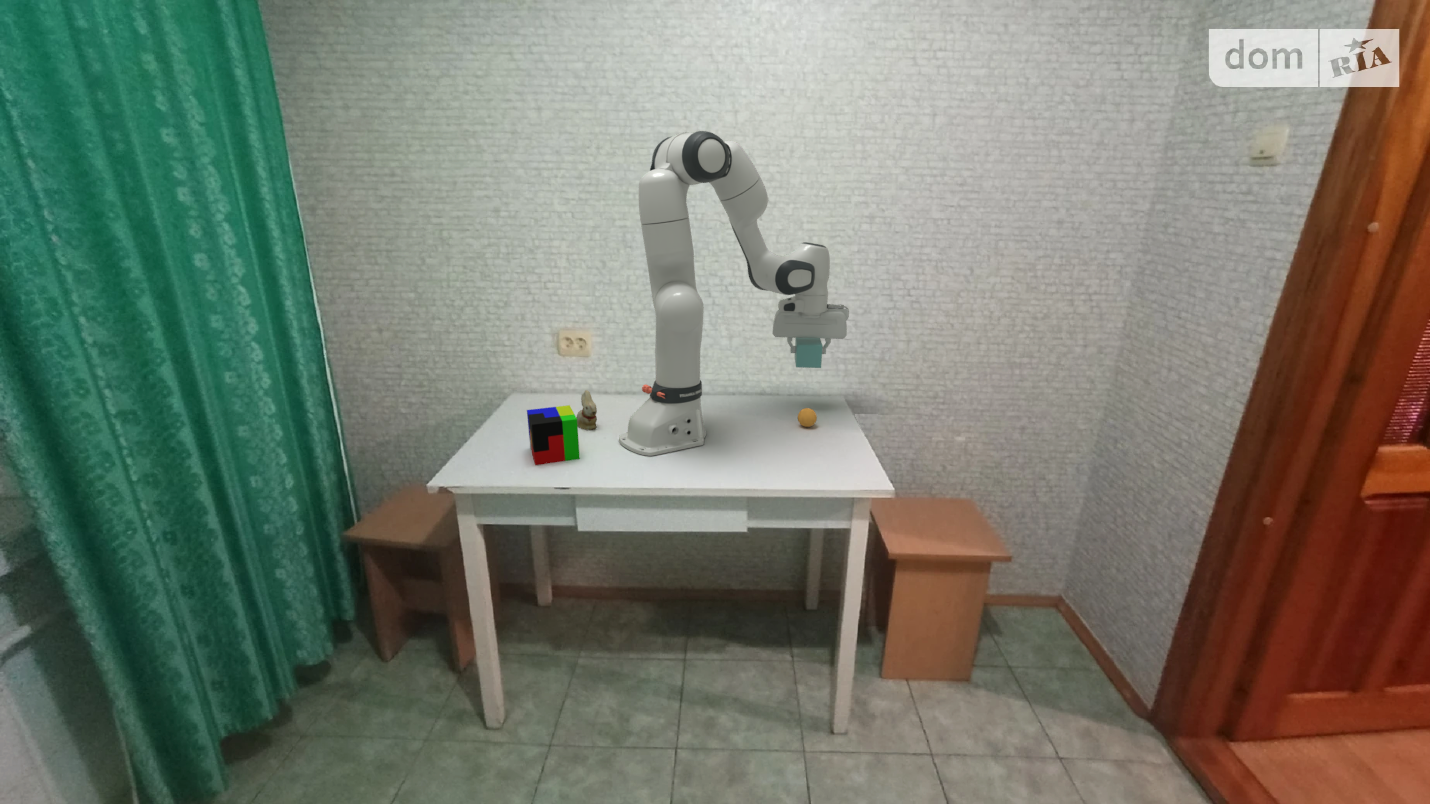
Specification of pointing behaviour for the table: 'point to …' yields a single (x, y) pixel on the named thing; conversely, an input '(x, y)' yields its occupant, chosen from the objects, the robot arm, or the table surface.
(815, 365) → the teal rectangular box
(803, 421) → the ball
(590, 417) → the chocolate bunny
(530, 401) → the table surface
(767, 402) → the table surface
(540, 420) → the puzzle toy
